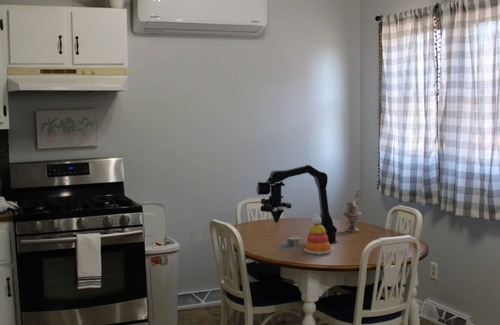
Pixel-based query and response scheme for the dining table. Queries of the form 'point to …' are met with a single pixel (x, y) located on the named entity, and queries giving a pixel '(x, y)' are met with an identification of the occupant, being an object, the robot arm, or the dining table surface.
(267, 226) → the dining table surface
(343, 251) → the dining table surface
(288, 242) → the block
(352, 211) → the decorative bust
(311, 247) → the stacking toy
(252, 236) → the dining table surface
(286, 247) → the mat
